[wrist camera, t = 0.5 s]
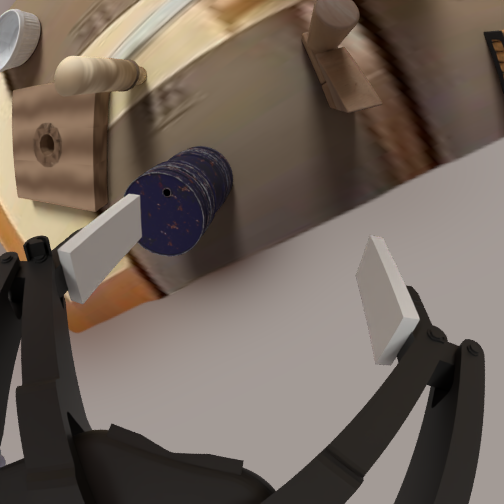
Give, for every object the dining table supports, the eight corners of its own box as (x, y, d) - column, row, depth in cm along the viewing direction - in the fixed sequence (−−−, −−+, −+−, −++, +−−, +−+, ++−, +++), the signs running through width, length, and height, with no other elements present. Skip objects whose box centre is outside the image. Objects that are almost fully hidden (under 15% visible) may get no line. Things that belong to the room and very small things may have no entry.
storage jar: (220, 217, 46) (190, 270, 33) (164, 194, 45) (115, 237, 32) (243, 159, 40) (218, 192, 28) (181, 136, 40) (130, 157, 27)
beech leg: (126, 61, 34) (55, 58, 21) (153, 60, 34) (86, 52, 20) (123, 90, 37) (52, 98, 23) (149, 90, 37) (82, 96, 23)
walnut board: (27, 88, 36) (13, 90, 33) (111, 76, 36) (96, 77, 32) (30, 190, 48) (17, 197, 44) (107, 203, 47) (95, 211, 43)
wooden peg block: (329, 108, 35) (356, 116, 20) (300, 38, 31) (304, -4, 15) (354, 102, 34) (398, 106, 19) (325, 31, 30) (348, -14, 14)
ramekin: (5, 75, 35) (-19, 79, 29) (12, 20, 28) (-11, 21, 22) (40, 63, 34) (14, 65, 28) (50, 3, 27) (26, -1, 21)
